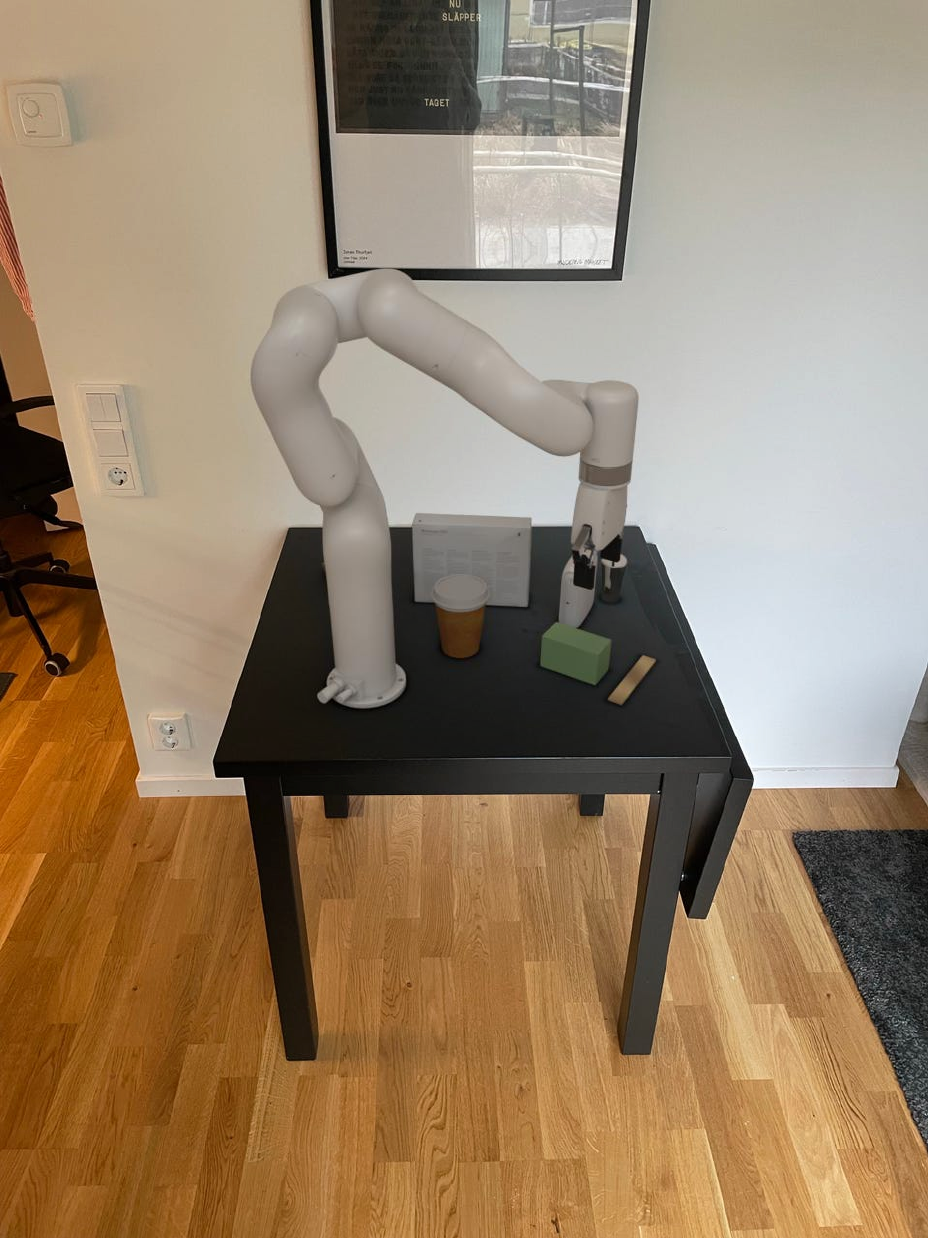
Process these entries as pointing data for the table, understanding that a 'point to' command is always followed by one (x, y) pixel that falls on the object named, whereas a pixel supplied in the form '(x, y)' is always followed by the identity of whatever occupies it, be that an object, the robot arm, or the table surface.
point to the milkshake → (612, 579)
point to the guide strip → (632, 680)
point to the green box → (575, 653)
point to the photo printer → (574, 597)
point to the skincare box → (473, 554)
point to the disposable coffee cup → (460, 613)
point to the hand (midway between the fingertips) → (596, 573)
